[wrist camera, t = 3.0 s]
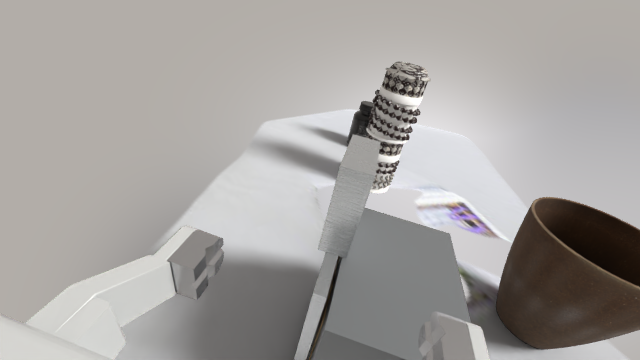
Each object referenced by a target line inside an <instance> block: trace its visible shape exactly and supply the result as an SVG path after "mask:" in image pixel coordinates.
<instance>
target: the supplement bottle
mask: <svg viewBox="0 0 640 360" xmlns="http://www.w3.org/2000/svg"><path fill="white" fill-rule="evenodd" d="M373 106H374V103H372V102H367V101H363V102H361V105H360V108H359V109H360V111H357V112H356V113H355V114H354V117H353V121H352V125H351V129H350V133H349V136H348V141H347V143H348V145H349V143H350V140H351V138H352V135H353V134H354V135H358V136H361V137H365V138H366V137H367V133H368V132H367V130H366V129H367V126H368V124H369V119H368V118H369V117H370V115H371V114H372V113H371V109H372V107H373Z"/></svg>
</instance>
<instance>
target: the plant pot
mask: <svg viewBox="0 0 640 360" xmlns="http://www.w3.org/2000/svg"><path fill="white" fill-rule="evenodd" d="M496 309H497V312H498V315H499V317H500V319H501V320H502V322H503V323H504V325H505V326H506V327H507V328H508V329H509V330H510V331H511V332H512V333H513V334H514V335H515V336H516V337H518V338H519V339H520V340H522V341H523V342H525V343H527V344H529V345H531V346H533V347H535V348H539V349H555V348H564V347H571V346H577V345H582V344H588V343H593V342H597V341H601V340H606V339H610V338H613V337H616V336H620V335H623V334H627V333H631V332H634V331H637V330H640V230H639V229H638V228H636V227H634V226H632V225H630V224H628V223H626V222H624V221H621V220H620V219H618V218H616V217H614V216H612V215H610V214H607V213H605V212H603V211H600V210H597V209H595V208H592V207H590V206H587V205H584V204H580V203H577V202H574V201H570V200H566V199H560V198H554V197H543V198H539V199H536V200H535V201H534V202H533V203H532V205H531V207H530V209H529V210H528V212H527V214H526V216H525V218H524V220H523V222H522V224H521V226H520V228H519V230H518V232H517V235H516V237H515V239H514V242H513V244H512V246H511V249H510V252H509V254H508V257H507V261H506V263H505V267H504V270H503V273H502V277H501V281H500V285H499V290H498V296H497V302H496Z"/></svg>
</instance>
